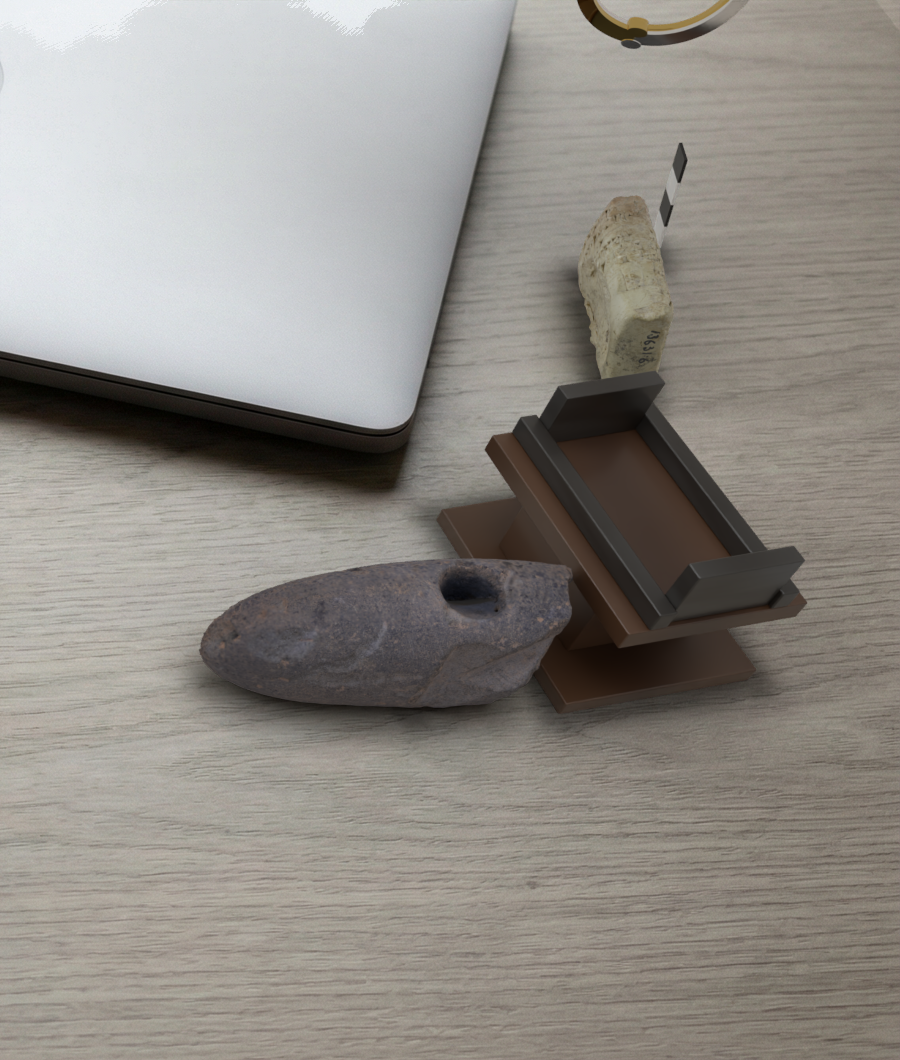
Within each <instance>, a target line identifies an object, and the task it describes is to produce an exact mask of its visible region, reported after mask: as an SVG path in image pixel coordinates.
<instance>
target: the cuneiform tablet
mask: <svg viewBox="0 0 900 1060" xmlns="http://www.w3.org/2000/svg"><path fill="white" fill-rule="evenodd" d="M687 163H688V156H687V153H686V150H685V147H684V144H683V142H678V145H677V149H676V152H675V154H674V159H673V161H672V164H671V169H670V172H669V175H668V177H667V182H666V185H665V188H664V192H663V194H662V198H661V201H660V204H659V209H658V212H657V216H656V218H655V222H654V225H653V223H652V220H651V217H650V213H649V211H650V210H649V207H648V205H647V202H646V201H645V199H644V198H643V197H642V196H640V195H637V194H636V195H630V196H616V197H614V198H612V199H611V200H610V201H609V202H608V203H607V205H606V207H604V209H603V211H602V212H601V214H600V215H599V217H598V218H597V219H596V220H595V221H594V223H593V225H592V226H591V228H590V230H589V232H588V233H587V235H586V236H585V239H584V242H583V246H582V248H581V252H580V254H579V257H578V264H577V275H578V287H579V292H580V293H581V295H582V297H583V298H584V303H583V304H584V307H585V312H586V315H587V316H588V318H589V320H590V324H589V325H588V328H589V330H590V334H591V336H590V338H589V340H590V343H591V344H592V345H593V346H594V347H595V350H596V351H595V360H596V364H597V365H596V366H597V368H598V371H599V375H600V379H605V378H611V377H618V376H624V375H630V374H637V373H643V372H649V371H656V372H657V373H658V374H659V371H660V367H661V363H662V362H661V361H662V356H663V352H664V349H665V348H666V342H667V337H668V335H669V334H670V333H669V332H670V329H671V325H672V323H673V321H674V319H675V318H674V315H675V313H674V311H675V306H674V303H673V301H672V298H671V293H670V289H669V285H668V281H667V279H666V271H665V268H664V259H663V258H662V255H661V254H662V253H661V248H662V245H663V242H664V238H665V235H666V232H667V229H668V225H669V222H670V220H671V216H672V212H673V210H674V206H675V202H676V200H677V197H678V193H679V190H680V186H681V184H682V180H683V177H684V173H685V170H686V167H687Z"/></svg>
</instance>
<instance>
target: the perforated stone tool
mask: <svg viewBox="0 0 900 1060" xmlns="http://www.w3.org/2000/svg"><path fill="white" fill-rule="evenodd" d="M572 580H573V574H572V569H571V568H569V567H567V566H566V565H555V564H546V563H541V562H530V561H521V560H501V559H476V558H475V559H474V558H472V559H461V558H435V559H433V558H432V559H422V560H406V561H395V562H386V563H378V564H377V563H375V564H371V565H370V564H369V565H362V566H358V567H352V568H351V567H350V568H346V569H343V570H335V571H329V572H324V573H320V574H319V573H318V574H315V575H311V576H306V577H301V578H297V579H294V580H289V581H287V582H284V583H280V584H277V585H274V586H272V587H268V588H265V589H263V590H261V591H258V592H254V594H253V593H252V594H251V595H249V596H248V597H246V598H244V599H241V600H239V601H238V602H236V603H235V604H233V605H231V606H229V608H228V609H226V610H224V611H223V613H221V615H218V616H217V617H216V618H213V621H212V622H211V623H210V624H209V625H208V626H207V628H206V630H205V631H204V632H203V635H202V637H201V641H200V643H199V644H200V645H199V646H200V648H199V649H198V652H199V653H198V654H199V655H200V656H201V659H202V661H203V663H204V664H205V666H206V667H207V668H209V669H210V670H211V671H212V672H213V673H214V674H216V676H218V677H220V678H221V679H222V680H225V681H228V683H231V684H234V685H235V686H237V687H239V688H241V689H244V690H248V691H251V692H254V693H256V694H260V695H263V696H267V697H272V698H276V699H282V700H285V701H292V702H300V703H308V704H320V705H338V706H339V705H344V706H345V705H346V706H352V707H353V706H354V707H384V708H385V707H386V708H387V707H388V708H391V707H397V708H408V709H409V708H412V709H413V708H422V707H429V708H434V709H435V708H437V709H438V708H440V709H441V708H442V709H445V708H446V709H447V708H450V707H457V706H478V705H488V704H492V703H493V702H496V701H498V700H501V699H504V698H506V697H510V696H511V695H513V694H514V693H516V692H517V691H518V690H520V689H521V688H523V687H526V686H527V684H528V683H529V682H530V681H531V679H532V677H533V676H534V674H533V673H534V671H536V670H538V669H539V666H540V662H541V659H542V658H543V657H544V655H545V653H546V652H547V650H548V648H549V646H550V645H551V643H552V641H553V638H554V637H555V636H556V635H558V634H559V633H561V632H562V630H563V629H564V627H566V626H567V624H568V623H569V621H570V618H571V614H572V607H571V604H570V601H569V593H568V591H569V589H568V584H569V583H571V581H572Z"/></svg>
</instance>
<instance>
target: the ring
mask: <svg viewBox="0 0 900 1060" xmlns="http://www.w3.org/2000/svg"><path fill="white" fill-rule="evenodd" d="M576 2H577V5H578V9H579V10H580V12H581V13H582V15H583V17H584V19H586V21H587V22H588V23H589V24H590V25H591V26H592V27H594V28H595V29H596V30H598V31H599V32H600V33H602V34H603V35H606V36H608V37H609V38H612V39H614V40H617V41H620V45H621V46H622V47H624V48H625V49H630V50H637V49H640V48H641V47H642V46H646V47H662V46H671V45H677V44H682V43H686V42H689V41H692V40H694V39H698V38H700V37H702V36H705V35H707V34H709V33H711V32H713V31H715V30H716V29H718V28H720V27H721V26H723V25H724V24H727V22H729V21H730V20H731V19H732V18H734V17H735V16H736V15H737V14H738V13H739V12H741V10H742V9H743V8H744V7H745V6H746V5H747V4H748V3H749V2H750V0H717V2H715V3H714V4H713V5H712V6H710V7H709V8H707V9H706V10H704V11H702V12H701V13H698V14H697V15H695V16H693V17H690V18H687V19H684V20H680V21H676V22H671V23H663V24H661V23H659V24H649V23H650V22H649V20H648V19H646V18H644V17H640V16H632V17H630V18H628V19H625V18H622V17H621V16H618V15H616V14H615V13H613V12H612V11H611V10H609V9H608V8H607V7H605V6H604V4H603V3H602V2H601V1H600V0H576Z"/></svg>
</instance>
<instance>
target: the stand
mask: <svg viewBox="0 0 900 1060" xmlns="http://www.w3.org/2000/svg"><path fill="white" fill-rule="evenodd" d="M665 385H666V382H665V380H664V379H663V377H662V376H661V375H660V374H659V372H658V373H657V372H656V371H649V372H643V373H637V374H630V375H624V376H618V377H611V378H605V379H601V378H600V379H593V380H586V381H580V382H575V383H568V384H567V383H566V384H561V385H558V386H557V387H556V389H555V391H554V392H553V394H552V395H551V398H550V399H549V401H548V403H547V404H546V405H545V407H544V410H542V412H541V414H540V416H538V415H537V414H530V415H525V416H521V417H519V418H518V420H517V422H516V424H515V425H514V427H513V429H512V431H510V432H504V433H497V434H493V435H491V437H490V439H489V441H488V442H487V444H486V446H485V447H484V452H485V453H486V455H487V456H488V457H489V460H490V461H491V462H492V464H493V465H494V466H495V468H496V469H497V471H498V472H499V474H500V476H501V477H502V478H503V480H504V481H505V483H506V484H507V486H508V487H509V488H510V490H511V492H512V493H513V494H514V497H509V498H501V499H496V500H490V501H485V502H484V501H483V502H477V503H472V504H465V505H460V506H453V507H447V508H442V509H441V510H440V512H439V514H438V515H437V517H436V518H435V519H436V522H437V524H438V525H439V527H440V528H441V530H442V532H443V533H444V535H445V536H446V538H447V539H448V541H449V543H450V544H451V546H452V547H453V549H454V550H455V553H457V555H458V557H459V559H472V558H474V559H475V558H476V559H501V560H521V561H530V562H541V563H546V564H555V565H566V566H567V567H569V568H571V569H572V574H573V580H572V581H571V583H569V584H568V589H569V591H568V593H569V601H570V604H571V607H572V614H571V618H570V621H569V623H568V624H567V626H566V627H564V629H563V630H562V632H561V633H559V634H558V635H556V636H555V637H554V638H553V641H552V643H551V645H550V646H549V648H548V650H547V652H546V653H545V655H544V657H543V658H542V659H541V662H540V666H539V669H538V670H536V671H534V673H533V676H534V677H535V679H536V681H537V682H538V684H539V685H540V687H541V689H542V690H543V692H544V694H545V695H546V697H547V698H548V700H549V702H550V703H551V705H552V706H553V708H554V709H555V711H556V713H557V714H559V715H562V714H569V713H574V712H579V711H585V710H590V709H596V708H600V707H607V706H612V705H617V704H622V703H628V702H634V701H640V700H644V699H645V700H646V699H651V698H655V697H656V698H657V697H660V696H667V695H672V694H677V693H683V692H688V691H695V690H700V689H705V688H711V687H717V686H722V685H726V684H733V683H739V682H743V681H748V680H749V679H750V678H751V677H752V676H754V674H755V673H756V671H757V668H756V666H755V665H754V663H752V661H751V660H750V658H749V657H748V656H747V654H746V653H745V652H744V650H743V649H742V648H741V646H740V645H739V643H738V642H737V640H736V639H735V638H734V637H733V635H732V634H731V632H730V631H729V629H735V628H741V627H745V626H752V625H757V624H762V623H768V622H773V621H779V620H785V619H792V618H796V617H797V616H798V615H799V614H800V613H801V611H802V610H803V609H804V608H805V607H806V606H807V604H808V601H807V600H806V598H805V597H804V596H803V594H802V593H801V591H800V589H799V588H798V586H797V585H796V584H795V583H794V582H793V580H792V579H791V578H792V577H793V576H794V575H795V573H797V571H798V570H799V569H800V568H801V566H802V565H804V563H805V562H806V560H805V558H804V556H803V555H802V554H801V552H800V551H799V550H798V549H797V548H796V546H795V545H789V546H784V547H778V548H777V547H776V548H772V549H768V548H767V547H766V545H765V544H764V543H763V541H762V540H761V539H760V538H759V536H758V535H757V534H756V533H755V531H754V530H753V528H752V527H751V526H750V525H749V524H748V522H747V520H745V518H744V517H743V516H742V515H741V513H740V511H738V509H737V508H736V507H735V505H734V504H733V503H732V502H731V500H730V499H729V498H728V496H727V495H726V494H725V493H724V491H723V490H722V489H721V488H720V486H719V485H718V483H717V482H716V481H715V480H714V479H713V477H712V476H711V474H710V473H709V472H708V471H707V470H706V468H705V467H704V466H703V464H702V463H701V462H700V461H699V459H698V458H697V456H696V455H695V454H694V453H693V451H692V450H691V449H690V447H689V446H688V445H687V444H686V442H685V441H684V439H682V437H681V436H680V435H679V433H678V432H677V431H676V430H675V428H674V427H673V425H672V424H671V423H670V422H669V421H668V419H667V418H666V417H665V415H664V414H663V412H661V410H660V408H658V406H657V405H656V404H655V402H654V401H655V400H656V398H657V397H658V395H659V394H660V392H662V389H663V388H664V387H665Z"/></svg>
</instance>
